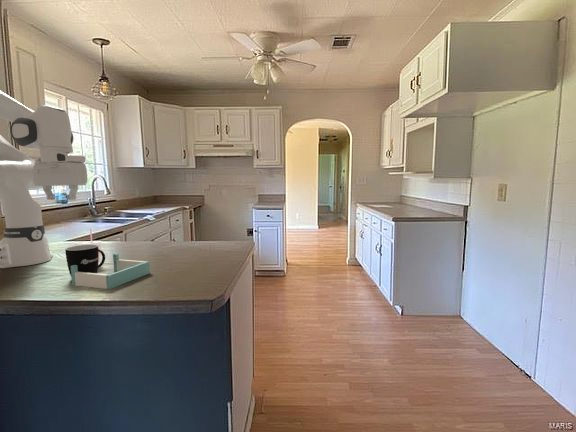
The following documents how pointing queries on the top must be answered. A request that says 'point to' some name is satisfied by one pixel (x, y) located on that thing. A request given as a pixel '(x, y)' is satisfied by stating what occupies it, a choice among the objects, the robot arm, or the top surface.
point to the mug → (84, 258)
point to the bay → (125, 273)
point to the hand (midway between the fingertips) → (61, 199)
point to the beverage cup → (93, 244)
